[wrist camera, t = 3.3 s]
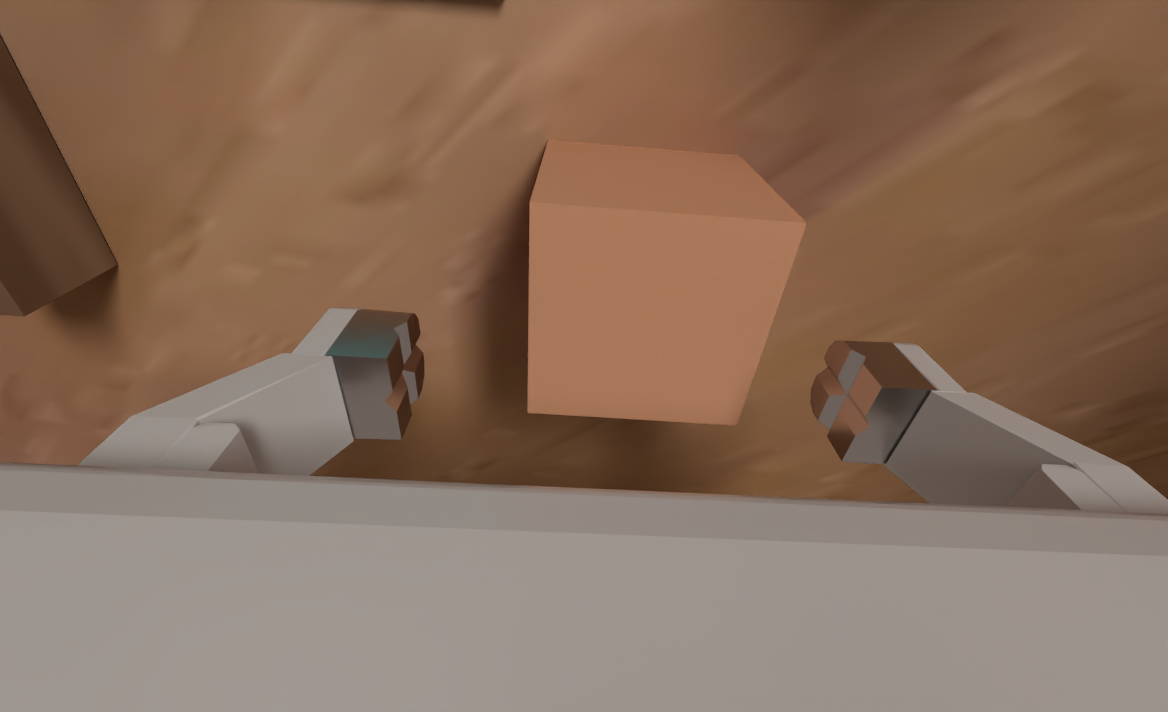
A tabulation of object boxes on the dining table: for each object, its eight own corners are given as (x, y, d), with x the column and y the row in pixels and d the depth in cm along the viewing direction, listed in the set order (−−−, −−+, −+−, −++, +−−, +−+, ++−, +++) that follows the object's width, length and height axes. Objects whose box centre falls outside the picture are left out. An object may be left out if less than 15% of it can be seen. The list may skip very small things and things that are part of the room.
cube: (738, 154, 13) (806, 222, 9) (699, 317, 16) (736, 425, 12) (548, 139, 13) (529, 202, 9) (543, 306, 16) (527, 412, 12)
